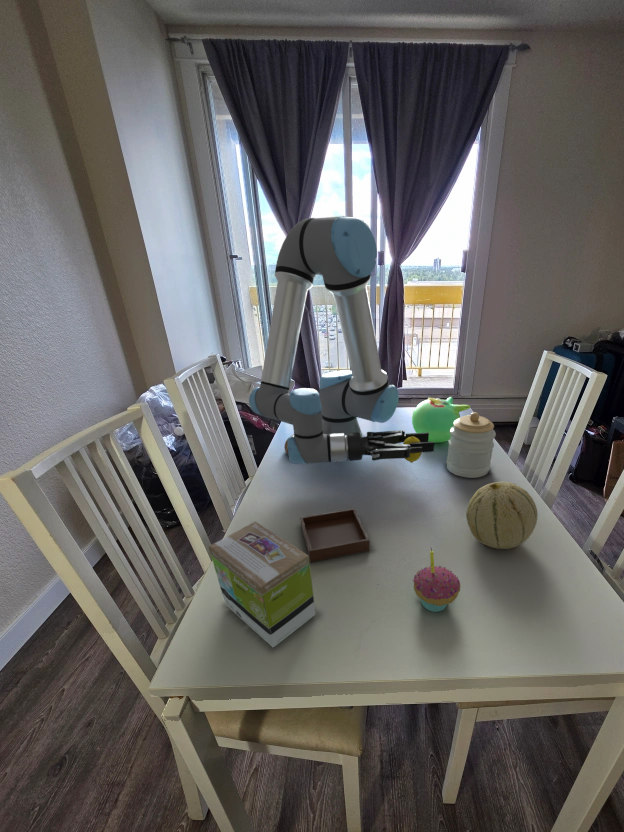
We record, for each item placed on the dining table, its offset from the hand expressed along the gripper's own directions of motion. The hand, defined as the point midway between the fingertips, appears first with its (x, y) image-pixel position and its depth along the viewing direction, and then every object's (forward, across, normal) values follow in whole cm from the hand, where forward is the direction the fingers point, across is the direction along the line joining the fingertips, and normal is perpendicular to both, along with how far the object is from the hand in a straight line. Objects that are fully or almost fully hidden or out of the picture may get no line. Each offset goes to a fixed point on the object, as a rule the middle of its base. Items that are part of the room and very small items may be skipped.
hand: (430, 441), depth 112 cm
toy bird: (+9, -27, -12) cm, 31 cm away
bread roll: (-37, -23, -12) cm, 45 cm away
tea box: (-41, +46, -11) cm, 62 cm away
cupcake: (-10, +48, -11) cm, 50 cm away
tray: (-28, +26, -11) cm, 40 cm away
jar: (+13, -4, -12) cm, 18 cm away
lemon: (-5, 0, -6) cm, 8 cm away
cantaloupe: (+8, +31, -11) cm, 34 cm away
